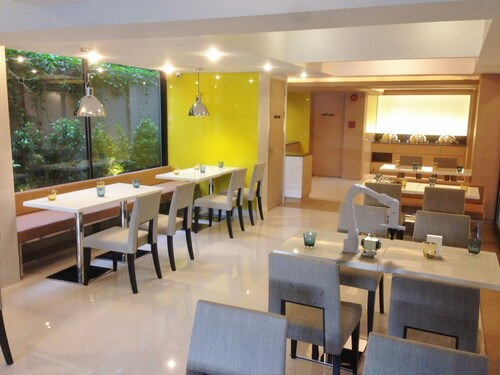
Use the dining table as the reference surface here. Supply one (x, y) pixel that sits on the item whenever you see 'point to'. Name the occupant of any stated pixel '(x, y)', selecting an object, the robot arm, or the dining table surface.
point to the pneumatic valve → (370, 245)
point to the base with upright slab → (436, 240)
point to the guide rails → (367, 255)
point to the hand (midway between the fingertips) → (392, 240)
